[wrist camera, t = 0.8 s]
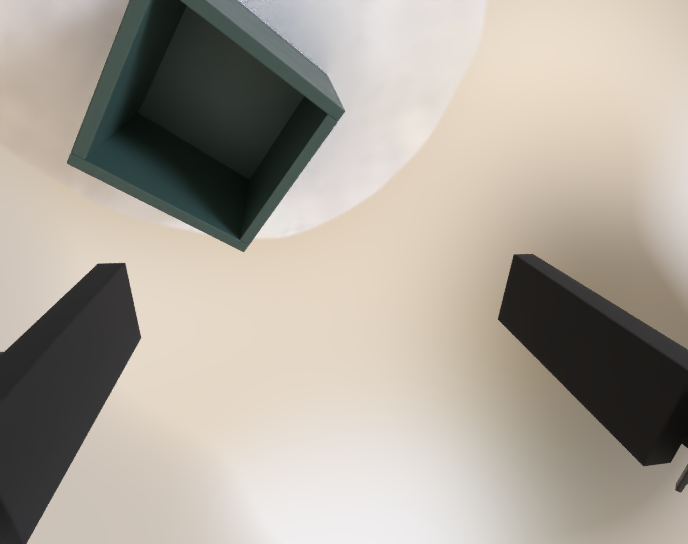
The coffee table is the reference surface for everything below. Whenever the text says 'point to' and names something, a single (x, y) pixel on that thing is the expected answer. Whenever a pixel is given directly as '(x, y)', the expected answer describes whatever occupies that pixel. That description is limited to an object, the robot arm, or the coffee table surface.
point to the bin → (205, 115)
